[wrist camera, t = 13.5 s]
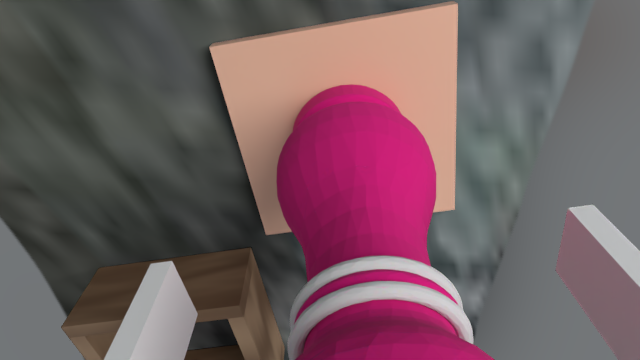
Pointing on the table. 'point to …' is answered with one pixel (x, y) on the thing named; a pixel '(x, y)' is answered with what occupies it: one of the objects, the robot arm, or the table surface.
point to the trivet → (342, 69)
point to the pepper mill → (366, 235)
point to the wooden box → (206, 295)
